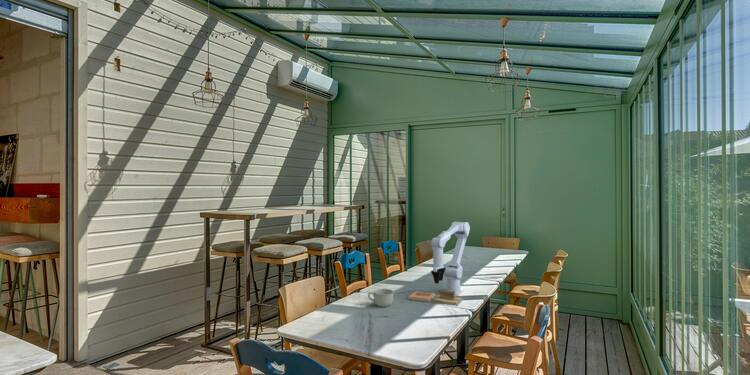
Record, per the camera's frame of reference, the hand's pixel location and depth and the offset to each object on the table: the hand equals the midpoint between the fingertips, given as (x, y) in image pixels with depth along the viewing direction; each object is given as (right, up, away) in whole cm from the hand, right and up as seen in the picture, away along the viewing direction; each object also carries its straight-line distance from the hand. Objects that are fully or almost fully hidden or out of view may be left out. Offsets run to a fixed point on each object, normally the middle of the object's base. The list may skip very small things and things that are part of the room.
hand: (438, 281), depth 227 cm
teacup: (-34, -10, -13) cm, 37 cm away
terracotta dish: (-10, -10, 0) cm, 14 cm away
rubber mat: (+4, -9, -7) cm, 12 cm away
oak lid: (+4, -9, -6) cm, 11 cm away
